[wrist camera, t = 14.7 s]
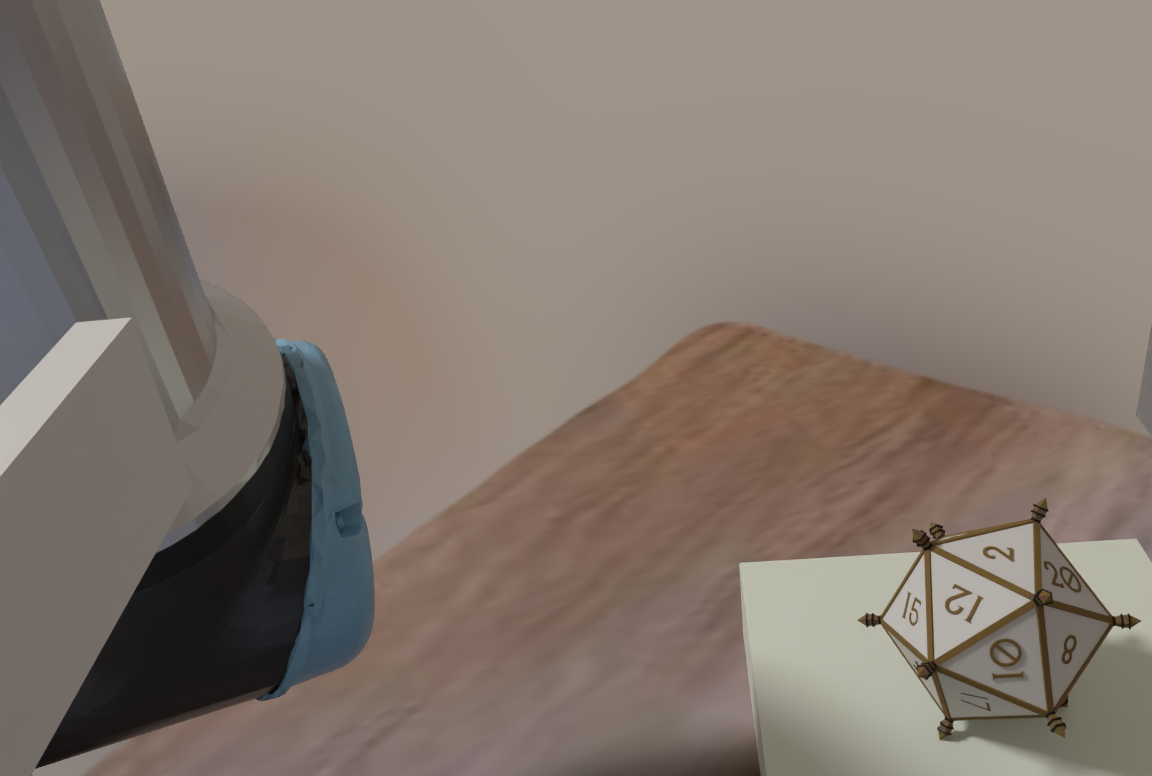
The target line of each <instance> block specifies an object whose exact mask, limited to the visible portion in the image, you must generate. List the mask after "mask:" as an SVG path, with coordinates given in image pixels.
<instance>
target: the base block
mask: <svg viewBox="0 0 1152 776" xmlns="http://www.w3.org/2000/svg"><path fill="white" fill-rule="evenodd" d="M1057 545H1058V547H1059V548H1060V549H1061V551H1062V552H1063V553H1064V554H1065V556H1066V557H1067V558H1068V560H1069V561H1070V562H1071V563H1072V565H1073V566H1074V567H1075V569H1076V570H1077V571H1078V572H1079V574H1080V575H1081V576H1082V578H1083V579H1084V580H1085V581H1086V583H1087V584H1088V585H1089V587H1090V588H1091V589H1092V591H1093V592H1094V593H1095V594H1096V596H1097V597H1098V598H1099V600H1100V601H1101V602H1102V603H1103V605H1104V606H1105V607H1106V609H1107V610H1108V611H1109V612H1110V614H1111V615H1112V616H1119V615H1120V614H1122V615H1128V613H1129V614H1130V615H1131V616H1133V617H1135V618H1137V619H1139V620H1141V622H1140V623H1138V624H1136V625H1135V626H1133V627H1131V630H1130V629H1129V628H1124V629H1122V627H1118V626H1113V627H1112V629H1111V630H1110V632H1109V633H1108V635H1107V637H1106V638H1105V640H1104V641H1103V643H1102V644H1101V646H1100V647H1099V649H1098V650H1097V652H1096V653H1095V655H1094V656H1093V658H1092V659H1091V661H1090V662H1089V664H1088V665H1087V667H1086V668H1085V670H1084V671H1083V673H1082V674H1081V676H1080V677H1079V679H1078V680H1077V682H1076V683H1075V685H1074V686H1073V688H1072V689H1071V691H1070V692H1069V694H1068V703H1067V705H1068V708H1067V707H1060V708H1059V709H1058V711H1057V712H1056V715H1057V716H1058V717H1061V718H1062V722H1063V723H1064V722H1065V724H1066V729H1065V738H1064V737H1062V736H1060V735H1058V734H1056V733H1053V732H1051V731H1050V730H1051V728H1050V726H1047V724H1048V721H1047V718H1020V719H991V720H961V721H954V722H953V728H954V729H952V731H951V734H952V735H948V736H947V737H945V738H943V739H941V740H940V739H939V732H938V730H937V728H938V726H940V725H941V724H940V722H941V721H943V720H944V719H945V716H944V715H943V713H942V712H941V710H940V709H939V707H938V706H937V704H936V703H935V702H934V700H933V699H932V697H931V696H930V694H929V693H928V692H927V690H926V689H925V687H924V686H923V684H922V683H921V681H920V680H919V679H918V677H917V676H916V674H915V673H914V671H913V670H912V669H911V667H910V666H909V664H908V663H907V661H906V660H905V658H904V657H903V656H902V654H901V653H900V651H899V650H898V648H897V647H896V646H895V644H894V643H893V641H892V640H891V638H890V637H889V635H888V634H887V633H886V631H885V630H884V628H883V627H882V625H875V627H872V626H869V627H866V625H864V624H862V623H860V622H859V621H857V620H858V619H860V618H861V617H863V616H864V615H866V613H868V614H872V613H874V615H877V616H880V615H881V614H882V613H883V611H884V610H885V608H886V606H887V605H888V603H889V602H890V600H891V598H892V597H893V595H894V594H895V592H896V590H897V589H898V587H899V586H900V584H901V582H902V581H903V579H904V578H905V576H906V574H907V573H908V571H909V570H910V568H911V566H912V565H913V563H914V562H915V560H916V558H917V557H918V555H919V554H920V552H913V553H896V554H880V555H864V556H847V557H831V558H815V559H798V560H782V561H766V562H749V563H739V564H740V583H741V601H742V620H743V635H744V643H745V652H746V660H747V668H748V676H749V684H750V692H751V701H752V709H753V717H754V725H755V733H756V742H757V750H758V758H759V766H760V774H761V776H1152V563H1151V561H1150V560H1149V558H1148V556H1147V555H1146V553H1145V552H1144V550H1143V549H1142V547H1141V545H1140V544H1139V542H1138V541H1137V539H1125V540H1109V541H1092V542H1076V543H1060V544H1057Z"/></svg>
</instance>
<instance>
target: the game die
mask: <svg viewBox="0 0 1152 776" xmlns="http://www.w3.org/2000/svg"><path fill="white" fill-rule="evenodd" d="M1033 506H1034V509H1033V510H1031V512H1032V518H1031V519H1028V520H1023V521H1018V522H1013V523H1008V524H1003V525H998V526H993V527H988V528H982V529H977V530H972V531H967V532H962V533H957V534H952V535H947V536H945V534H944V533H945V530H943V529H942V528H943V526H940V525H937V524H934V523H932V522H931V527H930V529H929V531H930V534H931V535H933V538H934V539H936V540H934V541H932V542H930V541H929V539H930V538H929V537H928V536H926V533H925V532H924V531H922V530H921V531H918V530H915V529H913V543H914V542H915V543H916V544H917V547H919V546H920V547H922V548H923V549H922V550H921V552H920V554H919V555H918V557H917V558H916V560H915V562H914V563H913V565H912V566H911V568H910V570H909V571H908V573H907V574H906V576H905V578H904V579H903V581H902V582H901V584H900V586H899V587H898V589H897V590H896V592H895V594H894V595H893V597H892V598H891V600H890V602H889V603H888V605H887V606H886V608H885V610H884V611H883V613H882V614H881V615H880V616H877V615H874V613H872V614H868V613H866V615H864V616H863V617H861V618H860V619H858V620H857V621H859V622H860V623H862V624H864V625H866V627H869V626H872V627H875V625H882V627H883V628H884V630H885V631H886V633H887V634H888V635H889V637H890V638H891V640H892V641H893V643H894V644H895V646H896V647H897V648H898V650H899V651H900V653H901V654H902V656H903V657H904V658H905V660H906V661H907V663H908V664H909V666H910V667H911V669H912V670H913V671H914V673H915V674H916V676H917V677H918V679H919V680H920V681H921V683H922V684H923V686H924V687H925V689H926V690H927V692H928V693H929V694H930V696H931V697H932V699H933V700H934V702H935V703H936V704H937V706H938V707H939V709H940V710H941V712H942V713H943V715H944V716H945V719H944V720H943V721H941V722H940V724H941V725H940V726H938V728H937V730H938V732H939V739H940V740H941V739H943V738H945V737H947V736H948V735H952V734H951V731H952V729H954V728H953V722H954V721H961V720H991V719H1020V718H1047V721H1048V724H1047V726H1050V728H1051V730H1050V731H1051V732H1053V733H1056V734H1058V735H1060V736H1062V737H1064V738H1065V729H1066V724H1065V722H1064V723H1063V722H1062V718H1061V717H1058V716H1057V715H1056V712H1057V711H1058V709H1059V708H1060V707H1067V708H1068V705H1067V703H1068V694H1069V692H1070V691H1071V689H1072V688H1073V686H1074V685H1075V683H1076V682H1077V680H1078V679H1079V677H1080V676H1081V674H1082V673H1083V671H1084V670H1085V668H1086V667H1087V665H1088V664H1089V662H1090V661H1091V659H1092V658H1093V656H1094V655H1095V653H1096V652H1097V650H1098V649H1099V647H1100V646H1101V644H1102V643H1103V641H1104V640H1105V638H1106V637H1107V635H1108V633H1109V632H1110V630H1111V629H1112V627H1113V626H1118V627H1122V629H1124V628H1129V629H1130V630H1131V627H1133V626H1135V625H1136V624H1138V623H1140V622H1141V620H1139V619H1137V618H1135V617H1133V616H1131V615H1130V614H1129V613H1128V615H1122V614H1120V615H1119V616H1112V615H1111V614H1110V612H1109V611H1108V610H1107V609H1106V607H1105V606H1104V605H1103V603H1102V602H1101V601H1100V600H1099V598H1098V597H1097V596H1096V594H1095V593H1094V592H1093V591H1092V589H1091V588H1090V587H1089V585H1088V584H1087V583H1086V581H1085V580H1084V579H1083V578H1082V576H1081V575H1080V574H1079V572H1078V571H1077V570H1076V569H1075V567H1074V566H1073V565H1072V563H1071V562H1070V561H1069V560H1068V558H1067V557H1066V556H1065V554H1064V553H1063V552H1062V551H1061V549H1060V548H1059V547H1058V545H1057V544H1056V543H1055V542H1054V540H1053V539H1052V538H1051V536H1050V535H1049V534H1048V532H1047V531H1046V530H1045V529H1044V527H1043V526H1042V525H1041V523H1040V522H1041V520H1042V518H1043V517H1045V516H1046V515H1045V514H1046V512H1048V509H1047V502H1046V498H1045V499H1044V500H1042V501H1040V502H1039V503H1037V504H1033Z"/></svg>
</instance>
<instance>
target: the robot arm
mask: <svg viewBox="0 0 1152 776" xmlns="http://www.w3.org/2000/svg"><path fill="white" fill-rule="evenodd" d="M1136 416H1137V417H1138V419H1139V420H1140V421H1141V422H1142V424H1143V425H1144V427H1145V428H1146V429H1147V431H1148V432H1149V433H1150V435H1151V436H1152V327H1151V333H1150V338H1149V344H1148V350H1147V355H1146V361H1145V367H1144V373H1143V378H1142V384H1141V390H1140V395H1139V401H1138V407H1137V413H1136ZM362 506H363V505H362V499H361V489H360V478H359V473H358V467H357V462H356V458H355V453H354V448H353V444H352V439H351V435H350V430H349V426H348V422H347V419H346V415H345V410H344V406H343V403H342V400H341V396H340V393H339V389H338V386H337V384H336V381H335V378H334V374H333V372H332V369H331V367H330V365H329V362H328V360H327V358H326V356H325V354H324V353H323V352H322V350H320V348H318V347H317V346H316V345H314V344H313V343H310V342H307V341H303V340H299V341H286V340H283V339H281V338H280V339H278V340H276V339H274V338H273V337H272V335H271V333H270V332H269V330H268V329H267V327H266V325H265V324H264V323H263V321H262V320H261V318H260V317H259V315H258V314H257V313H256V312H255V311H254V310H253V309H251V308H250V307H249V306H248V305H247V304H246V303H245V302H243V301H242V300H241V299H239V298H238V297H236V296H235V295H233V294H231V293H230V292H228V291H226V290H225V289H222V288H220V287H218V286H216V285H214V284H211V283H209V282H207V281H204V280H201V279H199V277H198V274H197V271H196V269H195V266H194V263H193V260H192V257H191V255H190V252H189V249H188V246H187V243H186V241H185V238H184V235H183V232H182V229H181V227H180V224H179V221H178V218H177V215H176V213H175V210H174V207H173V204H172V201H171V199H170V196H169V193H168V190H167V188H166V185H165V182H164V179H163V176H162V173H161V171H160V168H159V165H158V162H157V159H156V157H155V154H154V151H153V148H152V145H151V143H150V140H149V137H148V134H147V131H146V129H145V126H144V124H143V120H142V117H141V115H140V112H139V109H138V106H137V103H136V101H135V98H134V95H133V92H132V89H131V87H130V84H129V81H128V78H127V75H126V73H125V70H124V67H123V65H122V61H121V59H120V56H119V53H118V50H117V47H116V45H115V42H114V39H113V36H112V34H111V31H110V28H109V25H108V22H107V20H106V17H105V14H104V11H103V8H102V6H101V3H100V0H0V776H32V773H33V771H34V769H36V768H39V767H42V766H45V765H48V764H52V763H55V762H58V761H61V760H64V759H67V758H70V757H73V756H76V755H80V754H83V753H86V752H89V751H92V750H95V749H98V748H102V747H105V746H108V745H111V744H114V743H117V742H120V741H123V740H127V739H130V738H133V737H136V736H139V735H142V734H145V733H148V732H152V731H155V730H158V729H161V728H164V727H167V726H170V725H173V724H177V723H180V722H183V721H186V720H189V719H192V718H195V717H198V716H202V715H205V714H208V713H211V712H214V711H217V710H220V709H223V708H227V707H230V706H233V705H236V704H239V703H243V702H246V701H249V700H253V699H257V700H260V701H264V700H270V699H274V698H277V697H280V696H282V695H283V694H285V693H286V692H287V691H288V690H289V689H290V687H291V686H294V685H297V684H299V683H302V682H305V681H307V680H310V679H312V678H315V677H318V676H320V675H323V674H326V673H328V672H331V671H333V670H336V669H339V668H341V667H343V666H345V665H347V664H348V663H349V662H351V661H352V660H353V659H354V658H355V657H356V656H357V655H358V654H359V653H360V652H361V651H362V650H363V648H364V647H365V645H366V643H367V641H368V639H369V637H370V634H371V631H372V627H373V621H374V612H375V590H374V576H373V565H372V556H371V548H370V541H369V535H368V529H367V526H366V522H365V519H364V516H363V515H362V513H361V511H362Z"/></svg>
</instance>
